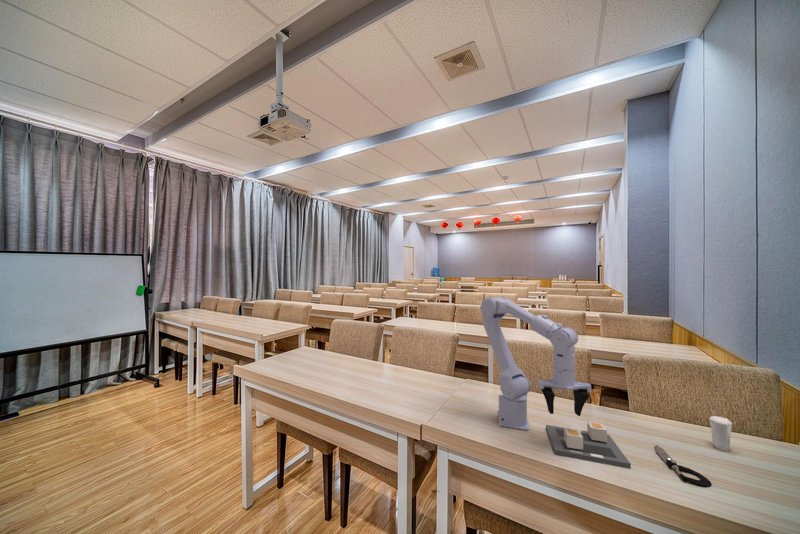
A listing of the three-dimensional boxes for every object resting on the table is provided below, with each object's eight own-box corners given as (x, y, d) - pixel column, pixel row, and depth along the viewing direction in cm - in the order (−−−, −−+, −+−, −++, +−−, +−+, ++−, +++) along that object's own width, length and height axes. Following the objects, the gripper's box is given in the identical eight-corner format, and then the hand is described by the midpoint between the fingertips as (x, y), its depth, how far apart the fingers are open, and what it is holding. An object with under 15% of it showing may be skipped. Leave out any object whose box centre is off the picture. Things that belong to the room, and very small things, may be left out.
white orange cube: (567, 447, 82) (567, 434, 83) (563, 439, 86) (563, 427, 86) (583, 450, 81) (583, 436, 81) (579, 442, 85) (579, 429, 85)
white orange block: (591, 439, 87) (591, 427, 87) (587, 432, 90) (587, 421, 91) (606, 442, 85) (606, 429, 86) (602, 435, 89) (602, 423, 89)
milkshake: (723, 444, 88) (722, 411, 89) (737, 454, 83) (736, 419, 84) (704, 441, 90) (703, 408, 90) (716, 450, 85) (715, 416, 85)
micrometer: (719, 492, 68) (719, 481, 69) (681, 484, 71) (680, 474, 71) (683, 456, 83) (683, 447, 83) (652, 450, 85) (652, 441, 85)
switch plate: (555, 454, 82) (555, 449, 82) (545, 428, 96) (545, 424, 96) (630, 468, 76) (630, 463, 76) (609, 438, 90) (609, 434, 90)
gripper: (544, 371, 84) (544, 418, 83) (597, 373, 82) (597, 421, 82) (535, 363, 91) (535, 407, 90) (584, 366, 89) (584, 410, 89)
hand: (564, 413), depth 87 cm, fingers open, 7 cm apart
